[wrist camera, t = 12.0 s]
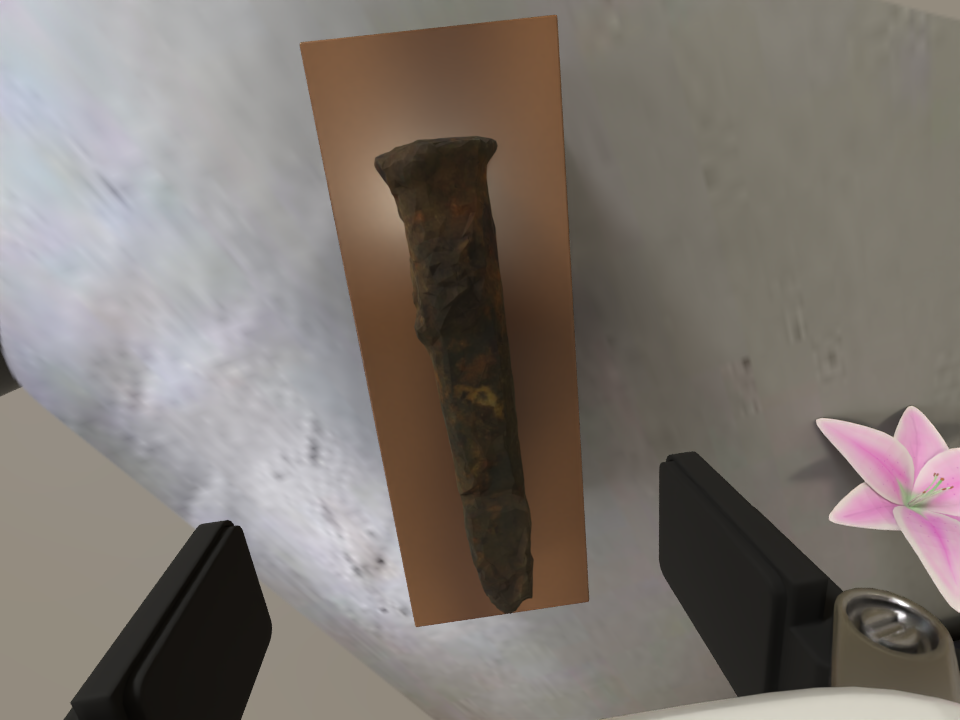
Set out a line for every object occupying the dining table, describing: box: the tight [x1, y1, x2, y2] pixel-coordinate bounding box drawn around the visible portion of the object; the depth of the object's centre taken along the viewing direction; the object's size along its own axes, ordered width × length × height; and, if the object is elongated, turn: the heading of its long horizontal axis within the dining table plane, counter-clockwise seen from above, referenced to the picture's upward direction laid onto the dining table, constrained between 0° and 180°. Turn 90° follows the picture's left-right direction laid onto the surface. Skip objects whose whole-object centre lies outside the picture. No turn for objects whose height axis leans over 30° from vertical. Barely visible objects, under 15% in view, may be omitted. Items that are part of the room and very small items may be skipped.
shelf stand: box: [300, 15, 589, 627], centre depth 25 cm, size 9×26×9 cm, turn 7°
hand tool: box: [374, 136, 534, 614], centre depth 19 cm, size 19×4×5 cm, turn 6°
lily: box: [816, 406, 960, 613], centre depth 31 cm, size 12×12×10 cm
